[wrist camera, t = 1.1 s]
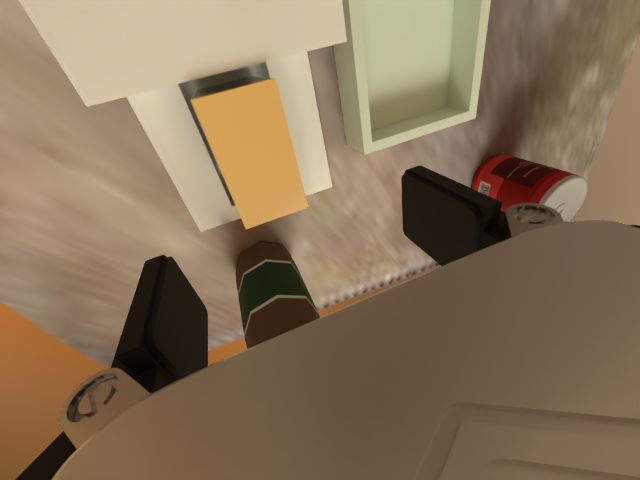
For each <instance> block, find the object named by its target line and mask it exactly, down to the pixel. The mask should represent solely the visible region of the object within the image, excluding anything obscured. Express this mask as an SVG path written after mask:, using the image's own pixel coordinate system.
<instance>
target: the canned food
mask: <svg viewBox="0 0 640 480" xmlns="http://www.w3.org/2000/svg"><path fill="white" fill-rule="evenodd" d="M587 187H588V185H587V181H586V179H585V178H583V177H580V176H578V175H575V174H572V173H569V172H566V171H562V170H559V169H555V168H552V167H548V166H545V165H541V164H538V163H534V162H531V161H527V160H524V159H520V158H517V157H513V156H510V155H496V156H493V157H491V158H489V159H488V160H486V161H485V162H484V163H483V164H482V165H481V166H480V168H479V169H478V170H477V172H476V174H475V176H474V178H473V181H472V189H474V190H476V191H478V192H481V193H483V194H485V195H487V196H489V197H492V198H494V199H496V200H498V201H501V202H502V207H501V211H503V212H505V213H506V210H507V209H508V208H509V207H510V206H512V205H516V204H520V203H535V204H541V205H545V206H548V207H551V208H553V209H555V210H556V211H558V213H559V214H560V215H561V217H562V219H563V220H564V222H568V221H569V220H570V219H571V218H572V217H573V216H574V215H575V214H576V212H577V211H578V209H579V208H580V207H581V205H582V203H583V201H584V199H585V196H586V193H587Z"/></svg>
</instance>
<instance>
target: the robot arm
mask: <svg viewBox="0 0 640 480" xmlns="http://www.w3.org/2000/svg"><path fill="white" fill-rule="evenodd" d="M501 207H502V202H501V201H498V200H496V199H494V198H492V197H489V196H487V195H485V194H483V193H481V192H478V191H476V190H474V189H472V188H469V187H467V186H465V185H463V184H460V183H458V182H456V181H454V180H452V179H449V178H447V177H445V176H443V175H440V174H438V173H436V172H434V171H431V170H429V169H427V168H425V167H423V166H417V167H414V168H411V169H408V170H406V171H405V173H404V175H403V176H402V212H403V231H404V234H405V235H406V236H407V237H408V238H409V239H410V240H411V241H412V242H414V243H415V244H416V245H417V246H418V247H420V248H421V249H422V250H423V251H424V252H426V253H427V254H428V255H429V256H430V257H431V258H433V259H434V260H435V261H436V262H437V263H439V264H440V265H441V267H439V268H436V269H434V270H432V271H430V272H427V273H425V274H422V275H420V276H418V277H415V278H413V279H410V280H408V281H406V282H403V283H401V284H398V285H396V286H394V287H392V288H389V289H387V290H384V291H382V292H380V293H377V294H375V295H372V296H370V297H368V298H366V299H363V300H361V301H358V302H356V303H354V304H351V305H349V306H347V307H344V308H342V309H340V310H337V311H335V312H333V313H330V314H328V315H325V316H323V317H321V318H318V319H316V320H314V321H311V322H309V323H307V324H305V325H302V326H300V327H298V328H295V329H293V330H291V331H288V332H286V333H284V334H281V335H279V336H277V337H274V338H272V339H270V340H267V341H265V342H263V343H260V344H258V345H256V346H253V347H251V348H249V349H246V350H244V351H242V352H240V353H237V354H235V355H233V356H230V357H228V358H226V359H223V360H221V361H219V362H216V363H214V364H212V365H210V366H208V314H207V310H206V307H205V305H204V304H203V302H202V301H201V299H200V298H199V296H198V295H197V293H196V292H195V290H194V289H193V287H192V286H191V284H190V283H189V281H188V280H187V278H186V277H185V275H184V274H183V272H182V271H181V269H180V268H179V266H178V265H177V263H176V262H175V260H174V259H173V258H172V257H168V258H167V257H166V256H165V255H161V256H158V257H156V258H153V259H150V260H147V261H146V262H145V264H144V267H143V270H142V273H141V276H140V279H139V282H138V285H137V289H136V292H135V295H134V298H133V301H132V304H131V307H130V310H129V313H128V316H127V319H126V322H125V325H124V329H123V332H122V335H121V338H120V341H119V344H118V347H117V350H116V353H115V357H114V360H113V363H112V366H111V368H108V369H105V370H102V371H100V372H98V373H96V374H94V375H92V376H91V377H89V378H88V379H87V380H85V381H84V382H83V383H82V384H81V385H79V386H78V387H77V389H76V390H74V392H73V393H72V394H71V395H70V396H69V398H68V399H67V400H66V402H65V404H64V406H63V407H62V410H61V412H60V416H59V423H60V427H61V428H62V429H63V432H62V433H61V434H60V435H59V436H58V437H57V438H56V439H55V440H54V441H53V442H52V443H51V444H50V445H49V446H48V447H47V448H46V449H45V450H44V451H43V452H42V453H41V454H40V455H39V456H38V457H37V458H36V459H35V460H34V461H33V462H32V463H31V464H30V465H29V466H28V467H27V469H25V470H24V472H22V474H20V476H19V477H18V478H17V479H16V480H640V226H637V225H626V224H622V223H618V222H612V221H604V220H601V221H600V220H589V221H575V222H564V220H563V219H562V217H561V215H560V214H559V213H558V211H556V210H555V209H553V208H551V207H548V206H545V205H541V204H535V203H520V204H516V205H512V206H510V207H509V208H508V209H507V210H506V213H505V212H503V211H501Z"/></svg>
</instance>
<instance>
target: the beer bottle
mask: <svg viewBox="0 0 640 480" xmlns="http://www.w3.org/2000/svg"><path fill="white" fill-rule="evenodd" d="M236 283H237V289H238V296H239V303H240V310H241V317H242V323H243V330H244V337H245V341H246V345H247V349H249V348H251V347H253V346H256V345H258V344H260V343H263V342H265V341H267V340H270V339H272V338H274V337H277V336H279V335H281V334H284V333H286V332H288V331H291V330H293V329H295V328H298V327H300V326H302V325H305V324H307V323H309V322H311V321H314V320H316V319H318V318H320V316H319V314H318V312H317V309H316V307H315V305H314V303H313V301H312V299H311V296H310V294H309V292H308V290H307V288H306V286H305V283H304V281H303V279H302V277H301V275H300V273H299V270H298V268H297V266H296V264H295V263H294V261H293V259H292V258H291V256H290V255H289V253H288V252H287V251H286V249H285V248H284V246H283V245H282V244H276V243H268V242H258V243H257V244H255V245H253V246H252V247H250V248H249V249H247V250H245V251H244V252H242V253H241V254H240V258H239V262H238V266H237V270H236Z"/></svg>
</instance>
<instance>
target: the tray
mask: <svg viewBox="0 0 640 480" xmlns="http://www.w3.org/2000/svg"><path fill="white" fill-rule="evenodd" d="M490 2H491V0H342V3H343V12H344V21H345V29H346V38H347V42H343V43H339V44H335V45H333V50H334V57H335V64H336V71H337V79H338V86H339V93H340V100H341V108H342V115H343V122H344V129H345V136H346V144H347V145H348V146H349V147H351V148H353V149H355V150H357V151H358V152H360V153H362V154H364V155H365V154H368V153H371V152H374V151H377V150H380V149H383V148H387V147H390V146H393V145H396V144H399V143H402V142H405V141H408V140H411V139H414V138H417V137H420V136H423V135H426V134H429V133H432V132H435V131H438V130H441V129H444V128H447V127H450V126H453V125H456V124H459V123H462V122H465V121H468V120H471V119H474V118H476V111H477V103H478V96H479V88H480V80H481V72H482V64H483V57H484V49H485V41H486V33H487V26H488V18H489V10H490Z"/></svg>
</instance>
